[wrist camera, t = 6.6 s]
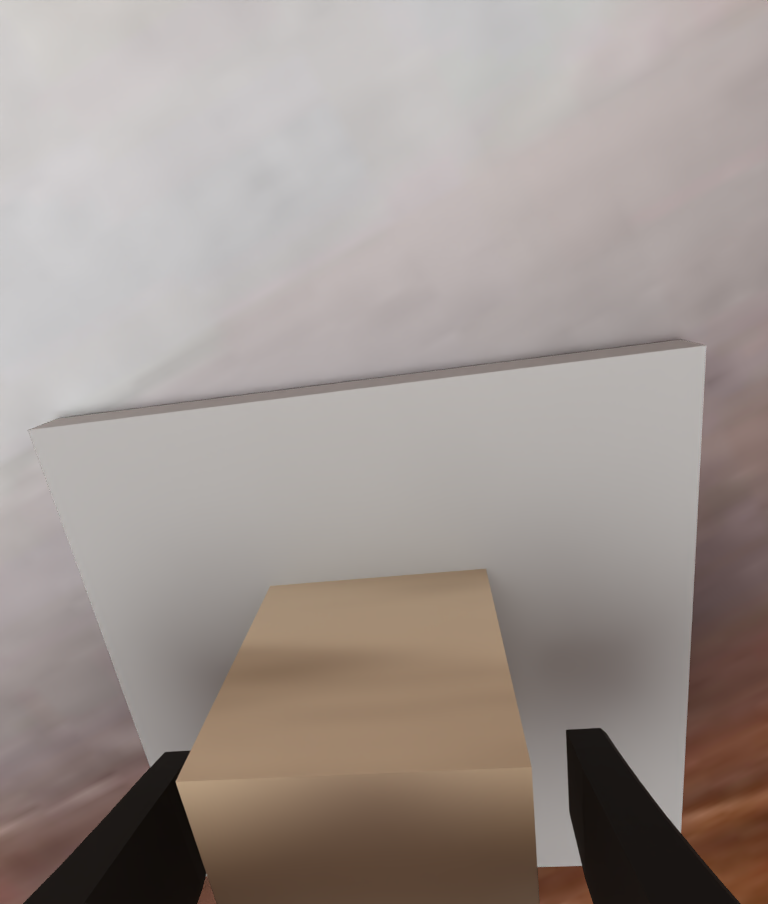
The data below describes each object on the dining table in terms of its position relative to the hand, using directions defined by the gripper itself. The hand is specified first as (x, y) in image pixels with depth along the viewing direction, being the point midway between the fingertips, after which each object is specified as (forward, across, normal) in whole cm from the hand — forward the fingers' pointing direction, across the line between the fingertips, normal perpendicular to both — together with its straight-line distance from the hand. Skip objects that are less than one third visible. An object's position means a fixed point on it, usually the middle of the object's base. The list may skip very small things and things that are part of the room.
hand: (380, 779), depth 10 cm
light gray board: (+4, 0, 0) cm, 4 cm away
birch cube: (+3, 0, 0) cm, 3 cm away
